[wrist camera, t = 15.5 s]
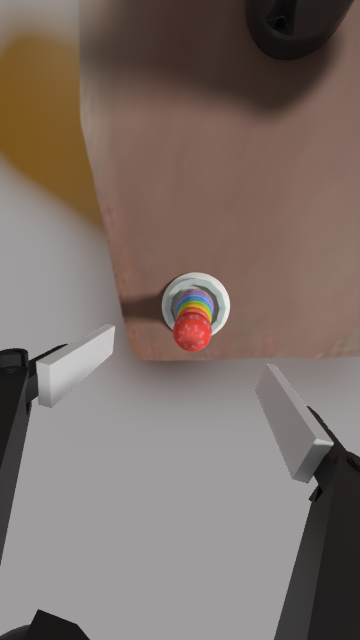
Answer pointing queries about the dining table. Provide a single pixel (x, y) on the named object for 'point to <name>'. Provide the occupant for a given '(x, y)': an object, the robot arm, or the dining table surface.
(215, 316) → the collar base
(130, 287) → the dining table surface
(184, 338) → the stacking toy
